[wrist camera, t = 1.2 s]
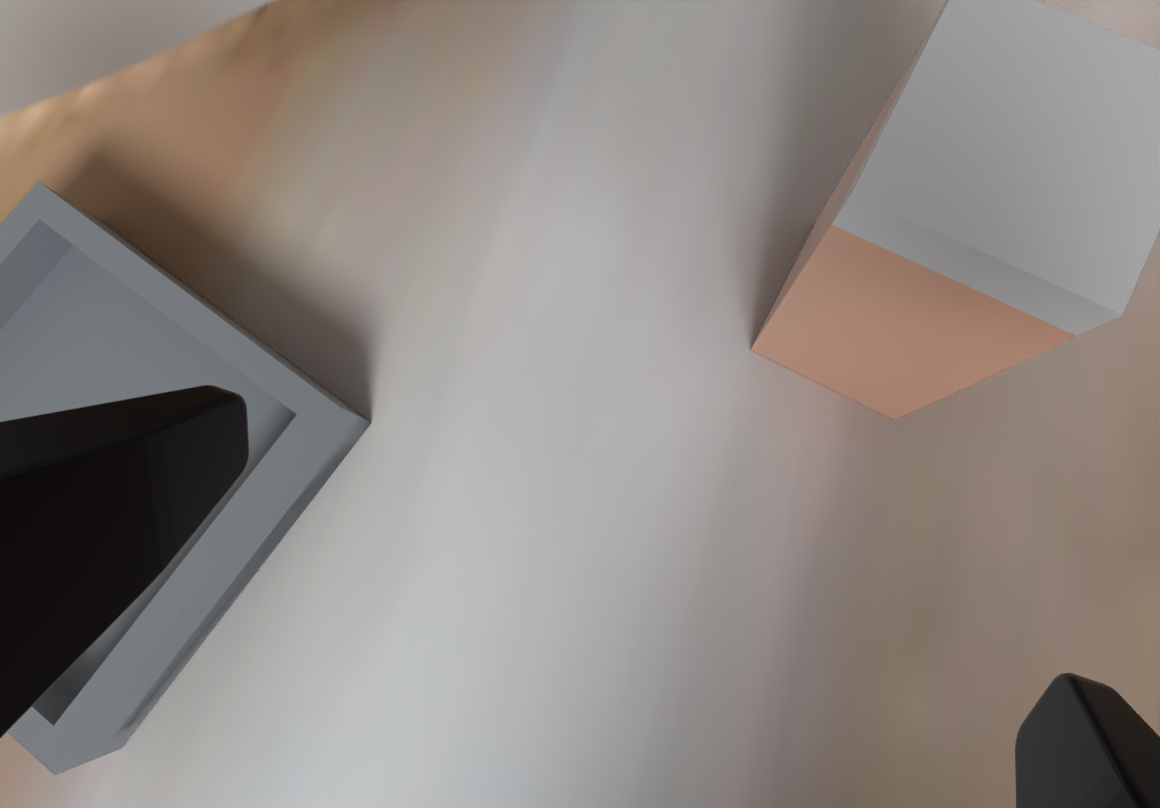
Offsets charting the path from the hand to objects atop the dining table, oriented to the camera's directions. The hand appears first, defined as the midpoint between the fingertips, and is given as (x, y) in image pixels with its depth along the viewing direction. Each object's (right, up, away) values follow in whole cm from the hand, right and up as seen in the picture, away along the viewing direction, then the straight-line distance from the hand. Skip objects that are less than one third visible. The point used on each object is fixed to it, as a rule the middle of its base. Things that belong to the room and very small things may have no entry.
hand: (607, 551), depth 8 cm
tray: (-14, 0, +14) cm, 20 cm away
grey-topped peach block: (+8, +4, +14) cm, 16 cm away
